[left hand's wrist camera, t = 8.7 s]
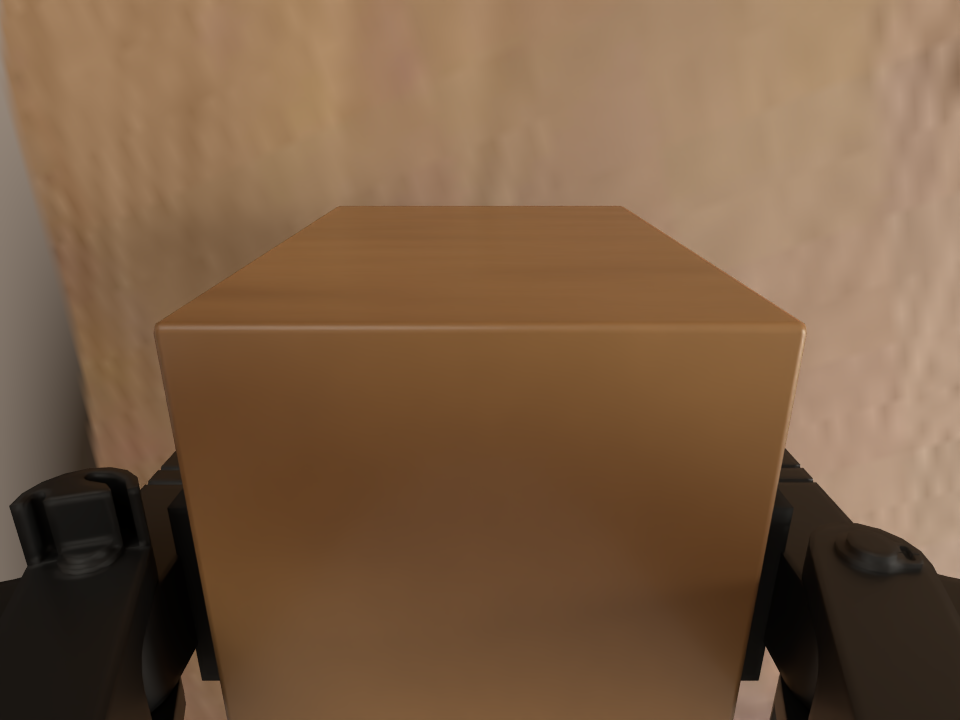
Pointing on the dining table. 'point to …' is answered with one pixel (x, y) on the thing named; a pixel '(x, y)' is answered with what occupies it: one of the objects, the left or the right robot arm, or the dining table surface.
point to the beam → (480, 467)
